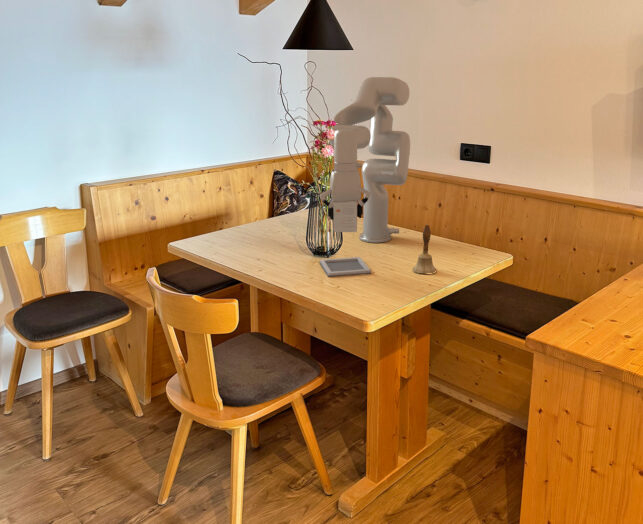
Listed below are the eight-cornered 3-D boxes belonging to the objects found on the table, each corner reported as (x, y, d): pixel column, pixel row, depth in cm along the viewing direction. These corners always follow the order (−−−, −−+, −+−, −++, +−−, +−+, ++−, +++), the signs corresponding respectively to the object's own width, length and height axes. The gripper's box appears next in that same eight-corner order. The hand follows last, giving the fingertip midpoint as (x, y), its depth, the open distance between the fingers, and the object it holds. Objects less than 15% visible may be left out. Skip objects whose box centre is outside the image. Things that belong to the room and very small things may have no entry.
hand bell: (417, 265, 224) (419, 221, 219) (440, 269, 220) (443, 224, 215) (408, 272, 217) (410, 226, 212) (431, 276, 213) (433, 230, 208)
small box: (357, 227, 220) (357, 197, 216) (356, 232, 214) (357, 201, 211) (333, 227, 220) (333, 197, 217) (332, 232, 215) (332, 201, 211)
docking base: (360, 260, 229) (360, 256, 229) (371, 273, 216) (371, 270, 216) (319, 263, 227) (319, 259, 226) (327, 276, 213) (327, 273, 213)
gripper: (368, 164, 215) (367, 213, 221) (317, 166, 212) (317, 216, 217) (374, 168, 208) (373, 219, 214) (321, 170, 205) (322, 222, 210)
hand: (345, 217), depth 216 cm, fingers closed on small box, 9 cm apart
